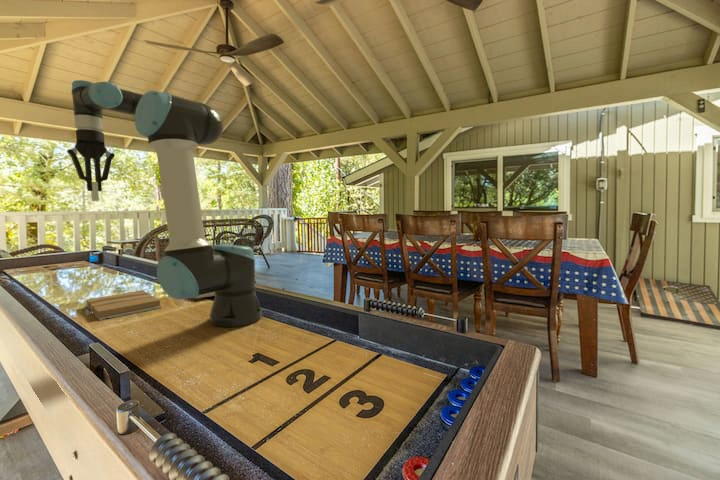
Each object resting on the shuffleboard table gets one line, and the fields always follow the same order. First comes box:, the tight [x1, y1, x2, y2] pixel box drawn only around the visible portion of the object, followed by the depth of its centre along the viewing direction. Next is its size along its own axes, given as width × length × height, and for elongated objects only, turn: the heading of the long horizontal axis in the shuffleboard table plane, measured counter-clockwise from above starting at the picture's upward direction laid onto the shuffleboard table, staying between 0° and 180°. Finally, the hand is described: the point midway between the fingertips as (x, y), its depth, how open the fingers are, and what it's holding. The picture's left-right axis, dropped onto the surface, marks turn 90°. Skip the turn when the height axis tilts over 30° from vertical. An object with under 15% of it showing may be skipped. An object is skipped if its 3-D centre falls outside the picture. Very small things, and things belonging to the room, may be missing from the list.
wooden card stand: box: [85, 295, 162, 321], centre depth 116 cm, size 21×17×3 cm
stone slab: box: [188, 292, 215, 302], centre depth 137 cm, size 10×3×30 cm
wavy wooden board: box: [85, 289, 153, 312], centre depth 119 cm, size 11×17×2 cm, turn 138°
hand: (95, 200), depth 117 cm, fingers closed
